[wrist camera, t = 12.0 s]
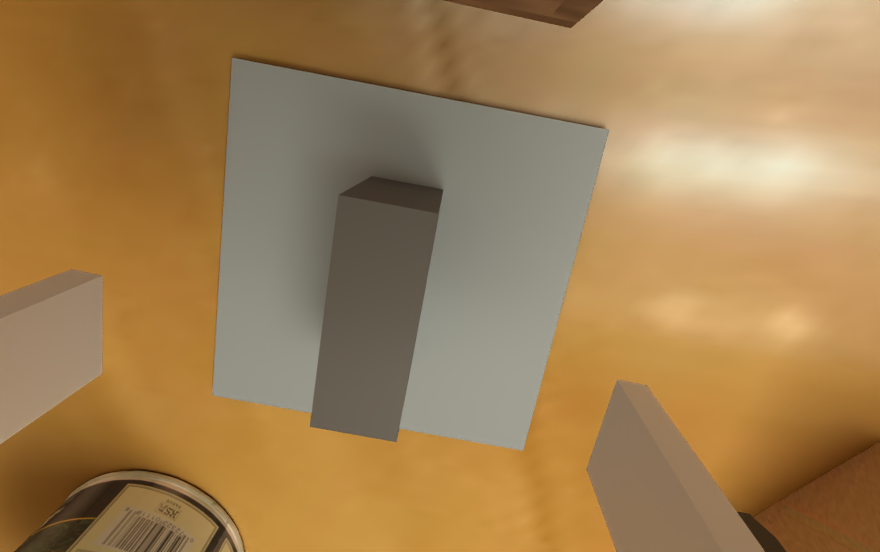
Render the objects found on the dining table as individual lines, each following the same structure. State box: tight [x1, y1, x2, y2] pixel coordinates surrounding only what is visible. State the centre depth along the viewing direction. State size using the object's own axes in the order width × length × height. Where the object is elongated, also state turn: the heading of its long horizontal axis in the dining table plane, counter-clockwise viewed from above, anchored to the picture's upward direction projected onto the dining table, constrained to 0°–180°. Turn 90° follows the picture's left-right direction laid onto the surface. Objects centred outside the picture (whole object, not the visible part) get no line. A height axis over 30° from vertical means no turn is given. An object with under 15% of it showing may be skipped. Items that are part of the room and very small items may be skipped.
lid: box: [212, 58, 609, 451], centre depth 19 cm, size 15×15×7 cm
